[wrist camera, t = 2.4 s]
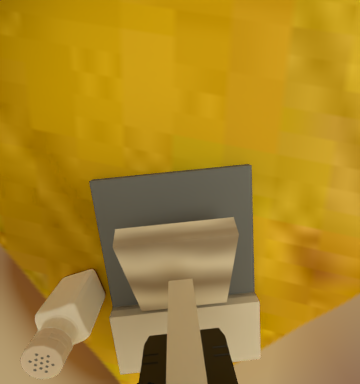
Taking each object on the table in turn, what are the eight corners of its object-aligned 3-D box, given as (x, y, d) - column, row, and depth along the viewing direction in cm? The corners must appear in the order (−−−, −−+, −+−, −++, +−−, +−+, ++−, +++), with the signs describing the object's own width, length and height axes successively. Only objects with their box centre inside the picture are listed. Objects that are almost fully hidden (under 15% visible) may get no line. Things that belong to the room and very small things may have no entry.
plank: (115, 229, 18) (112, 247, 17) (233, 217, 18) (238, 234, 17) (142, 296, 26) (141, 311, 25) (223, 287, 26) (226, 302, 25)
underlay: (92, 179, 24) (83, 184, 22) (248, 164, 25) (257, 167, 22) (124, 353, 30) (120, 374, 27) (252, 339, 30) (260, 358, 27)
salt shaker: (108, 295, 28) (77, 375, 18) (75, 304, 28) (28, 389, 19) (95, 265, 27) (55, 335, 17) (61, 275, 27) (4, 350, 18)
